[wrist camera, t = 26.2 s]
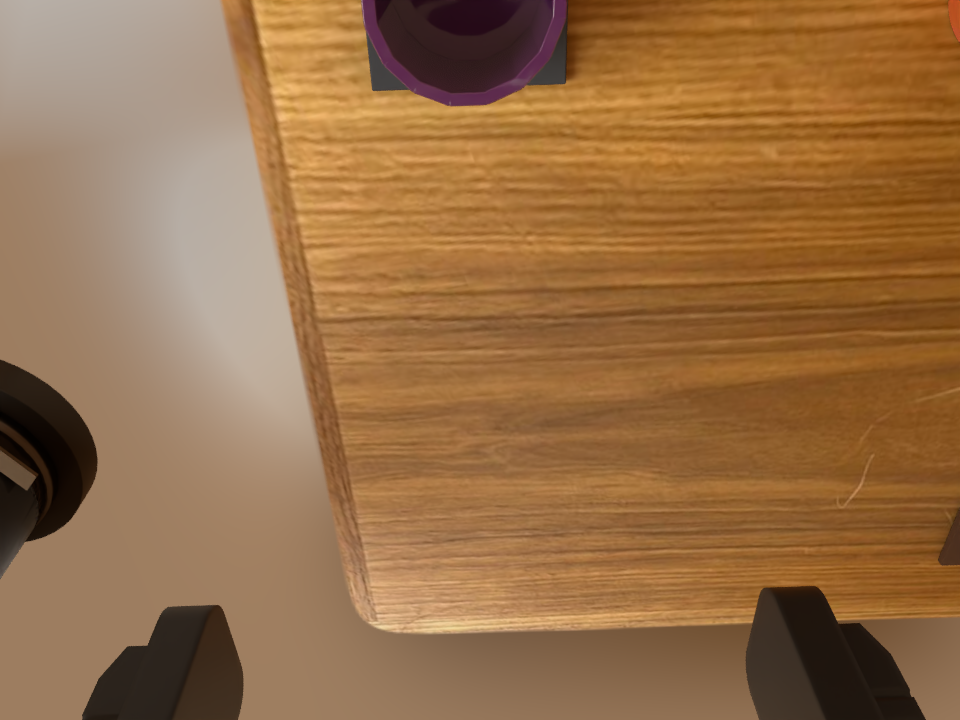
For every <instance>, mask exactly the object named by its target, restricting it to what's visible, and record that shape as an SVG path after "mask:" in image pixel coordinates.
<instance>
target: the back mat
mask: <svg viewBox="0 0 960 720" xmlns="http://www.w3.org/2000/svg"><path fill="white" fill-rule="evenodd" d="M938 561H939V563H940V564H941V565H960V509H959V511H958V514H957V516H956V518H955V521H954V523H953V526H952V528H951V530H950V533H949V535H948V537H947V540H946V542H945V545H944V547H943V549H942V552H941V554H940V556H939V559H938Z"/></svg>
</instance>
